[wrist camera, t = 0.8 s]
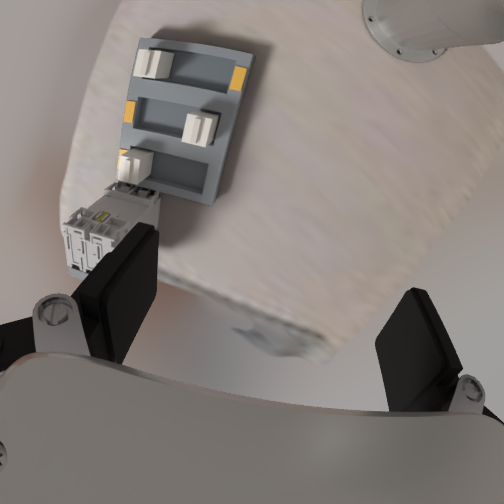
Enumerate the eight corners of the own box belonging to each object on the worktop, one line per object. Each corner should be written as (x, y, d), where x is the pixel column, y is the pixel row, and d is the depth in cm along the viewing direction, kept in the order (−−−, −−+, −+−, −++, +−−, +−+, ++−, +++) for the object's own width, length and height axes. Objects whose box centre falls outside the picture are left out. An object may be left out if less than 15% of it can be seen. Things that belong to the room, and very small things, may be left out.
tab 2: (154, 51, 31) (137, 48, 27) (174, 53, 31) (159, 50, 27) (148, 75, 33) (130, 75, 28) (168, 78, 33) (152, 78, 29)
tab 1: (135, 147, 38) (118, 156, 34) (154, 151, 38) (138, 160, 34) (132, 169, 40) (116, 181, 36) (150, 174, 40) (135, 186, 36)
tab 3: (198, 110, 35) (186, 114, 31) (220, 115, 35) (211, 119, 31) (192, 134, 37) (180, 142, 33) (214, 140, 37) (204, 148, 33)
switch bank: (148, 39, 31) (139, 37, 29) (255, 56, 32) (252, 54, 29) (124, 174, 42) (115, 180, 40) (216, 198, 43) (211, 206, 41)
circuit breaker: (117, 253, 50) (75, 307, 38) (119, 179, 43) (62, 222, 30) (154, 264, 51) (118, 324, 38) (162, 188, 43) (113, 237, 30)
